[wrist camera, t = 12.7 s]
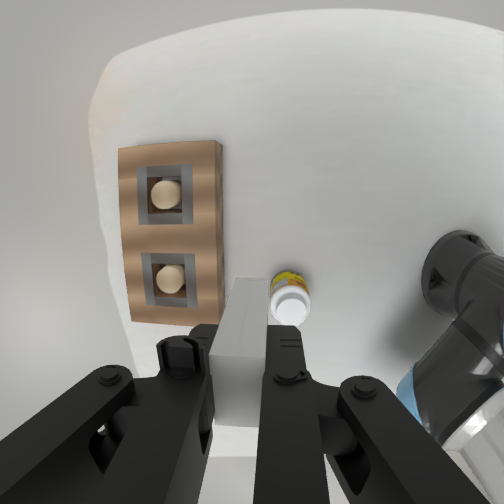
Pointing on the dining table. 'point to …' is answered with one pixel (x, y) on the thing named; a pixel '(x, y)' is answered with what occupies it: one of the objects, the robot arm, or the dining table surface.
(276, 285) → the supplement bottle
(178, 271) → the short peg
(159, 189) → the beige round peg
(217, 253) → the socket block
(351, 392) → the robot arm
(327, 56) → the dining table surface
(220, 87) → the dining table surface
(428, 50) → the dining table surface
